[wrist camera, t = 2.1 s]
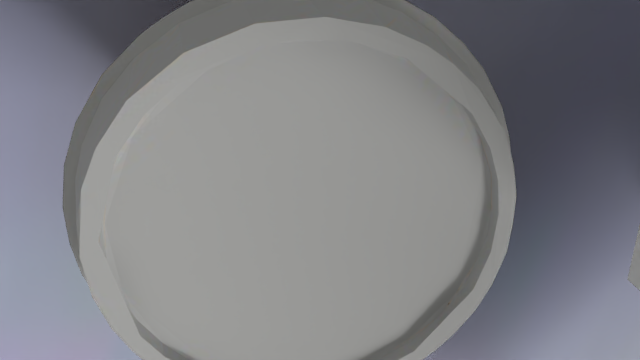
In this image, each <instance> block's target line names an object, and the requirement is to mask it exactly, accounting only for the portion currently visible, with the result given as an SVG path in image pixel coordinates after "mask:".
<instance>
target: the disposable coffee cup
mask: <svg viewBox="0 0 640 360" xmlns="http://www.w3.org/2000/svg"><path fill="white" fill-rule="evenodd" d="M516 196H517V194H516V184H515V173H514V163H513V160H512V156H511V149H510V137H509V133H508V129H507V125H506V121H505V117H504V113H503V109H502V106H501V104H500V101H499V99H498V97H497V95H496V93H495V91H494V89H493V87H492V85H491V83H490V81H489V79H488V76H487V74H486V72H485V70H484V69H483V67H482V66H481V65H480V64H479V62H478V61H477V60H476V58H475V57H474V56H473V55H472V53H471V52H470V51H469V49H468V48H467V47H466V45H465V44H464V43H463V42H462V41H461V40H460V39H459V38H457V37H456V36H455V35H454V34H453V33H452V32H451V31H450V30H449V29H447V28H446V27H445V26H444V25H443V24H442V23H441V22H440V21H438V20H437V19H436V18H435V17H434V16H432V15H430V14H428V13H427V12H425V11H423V10H421V9H420V8H418V7H416V6H414V5H413V4H411V3H409V2H407V1H406V0H193V1H191V2H189V3H187V4H185V5H183V6H182V7H180V8H178V9H177V10H175V11H173V12H171V13H170V14H168V15H166V16H165V17H163V18H161V19H160V20H159V21H157V22H156V23H155V24H153V25H152V26H151V27H149V28H148V29H147V30H145V31H144V32H143V33H141V34H140V35H139V36H138V37H137V38H136V39H135V40H134V41H133V42H132V43H131V44H130V45H129V46H128V47H127V48H126V50H125V51H124V52H123V53H122V54H121V55H120V56H119V57H118V58H117V59H116V60H115V61H114V62H113V63H112V64H111V65H110V66H109V68H108V69H107V70H106V71H105V72H104V73H103V74H102V75H101V77H100V79H99V81H98V83H97V84H96V86H95V88H94V90H93V92H92V94H91V95H90V97H89V99H88V101H87V103H86V104H85V106H84V108H83V110H82V112H81V114H80V115H79V117H78V119H77V121H76V123H75V127H74V130H73V134H72V138H71V142H70V145H69V149H68V153H67V156H66V160H65V164H64V183H63V212H64V217H65V222H66V227H67V232H68V237H69V242H70V246H71V248H72V251H73V253H74V256H75V258H76V261H77V263H78V266H79V268H80V271H81V273H82V275H83V277H84V278H85V280H86V281H87V283H88V285H89V288H90V291H91V294H92V297H93V299H94V301H95V302H96V304H97V306H98V307H99V309H100V310H101V312H102V314H103V315H104V317H105V319H106V320H107V322H108V324H109V325H110V327H111V329H112V330H113V331H114V332H115V333H116V334H117V335H118V336H119V337H120V338H121V340H122V341H123V342H124V343H125V344H126V345H127V346H128V347H129V348H130V349H131V350H132V351H133V352H134V353H135V354H136V355H138V356H139V357H140V358H142V359H143V360H422V359H424V358H425V357H427V356H428V355H430V354H431V353H433V352H434V351H435V350H437V349H438V348H439V347H440V346H441V345H442V344H443V343H444V342H446V341H447V340H448V339H449V338H450V337H451V336H452V335H453V334H455V332H456V331H457V330H458V329H459V328H460V327H461V326H462V325H463V324H464V322H465V321H466V320H467V319H468V318H469V317H470V316H471V315H472V314H473V312H474V311H475V310H476V308H477V307H478V305H479V304H480V302H481V301H482V299H483V298H484V296H485V295H486V293H487V292H488V290H489V289H490V287H491V286H492V284H493V282H494V279H495V277H496V275H497V273H498V271H499V268H500V266H501V264H502V262H503V260H504V257H505V255H506V253H507V249H508V244H509V240H510V235H511V230H512V226H513V219H514V212H515V204H516Z"/></svg>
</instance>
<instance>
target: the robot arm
mask: <svg viewBox="0 0 640 360" xmlns="http://www.w3.org/2000/svg"><path fill="white" fill-rule="evenodd" d="M628 280H629V281H630V282H631V283H632V284H633V285H634V286H635V287H636V288H637V289H639V290H640V225H639V230H638V234H637V239H636V243H635V248H634V252H633V257H632V261H631V266H630V270H629V275H628Z"/></svg>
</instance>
